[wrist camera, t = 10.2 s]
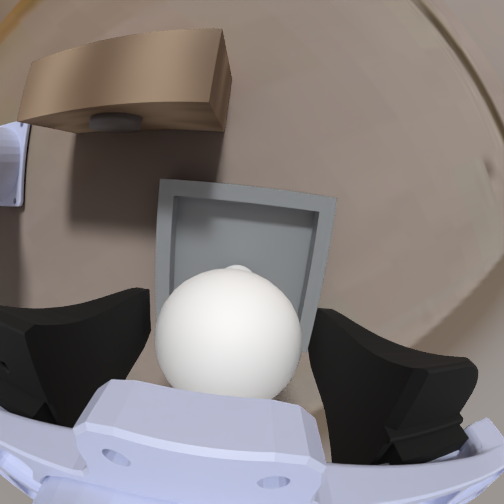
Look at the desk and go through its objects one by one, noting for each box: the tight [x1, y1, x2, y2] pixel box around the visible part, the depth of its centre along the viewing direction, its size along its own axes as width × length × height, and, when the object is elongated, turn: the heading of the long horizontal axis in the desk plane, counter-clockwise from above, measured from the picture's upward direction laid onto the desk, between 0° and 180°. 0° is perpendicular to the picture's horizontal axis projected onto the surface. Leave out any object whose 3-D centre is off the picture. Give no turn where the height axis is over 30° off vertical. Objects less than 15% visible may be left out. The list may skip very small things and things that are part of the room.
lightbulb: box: [154, 265, 302, 399], centre depth 13 cm, size 6×6×11 cm
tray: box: [155, 179, 337, 352], centre depth 18 cm, size 11×11×2 cm
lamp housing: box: [17, 29, 232, 133], centre depth 13 cm, size 12×5×7 cm, turn 84°
